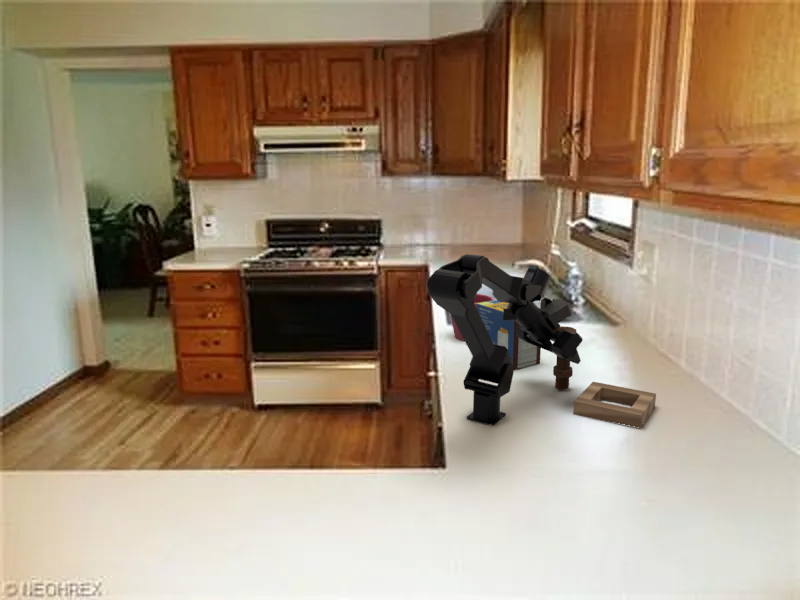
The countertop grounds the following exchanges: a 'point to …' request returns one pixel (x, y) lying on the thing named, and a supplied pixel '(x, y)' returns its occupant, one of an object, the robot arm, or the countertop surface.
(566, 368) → the bolt
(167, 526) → the countertop surface
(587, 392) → the block
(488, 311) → the protein box
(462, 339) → the plant pot
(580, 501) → the countertop surface
